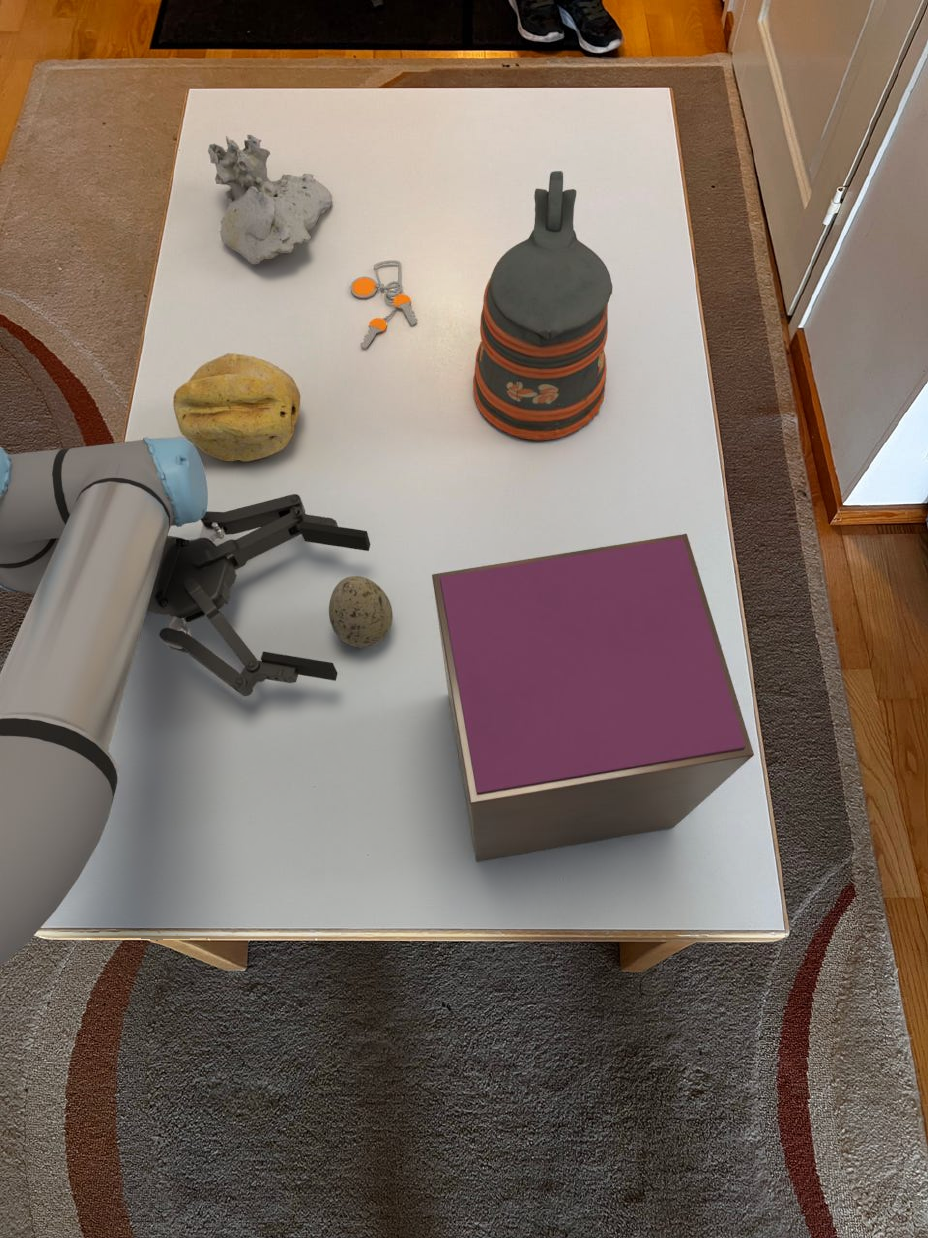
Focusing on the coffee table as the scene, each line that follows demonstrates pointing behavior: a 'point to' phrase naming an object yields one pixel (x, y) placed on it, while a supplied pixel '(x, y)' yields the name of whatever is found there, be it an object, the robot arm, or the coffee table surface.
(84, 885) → the coffee table surface
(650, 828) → the plinth
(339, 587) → the decorative egg
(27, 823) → the robot arm
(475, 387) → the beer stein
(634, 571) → the cloth
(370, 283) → the key chain
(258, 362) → the tan rounded lump
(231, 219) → the coral
